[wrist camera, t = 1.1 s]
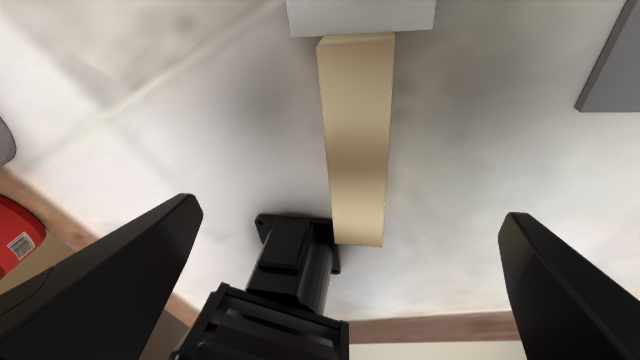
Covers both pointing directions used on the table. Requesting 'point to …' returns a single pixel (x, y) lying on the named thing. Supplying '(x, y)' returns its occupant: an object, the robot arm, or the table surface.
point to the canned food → (17, 234)
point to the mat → (617, 68)
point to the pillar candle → (6, 144)
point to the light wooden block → (357, 100)
